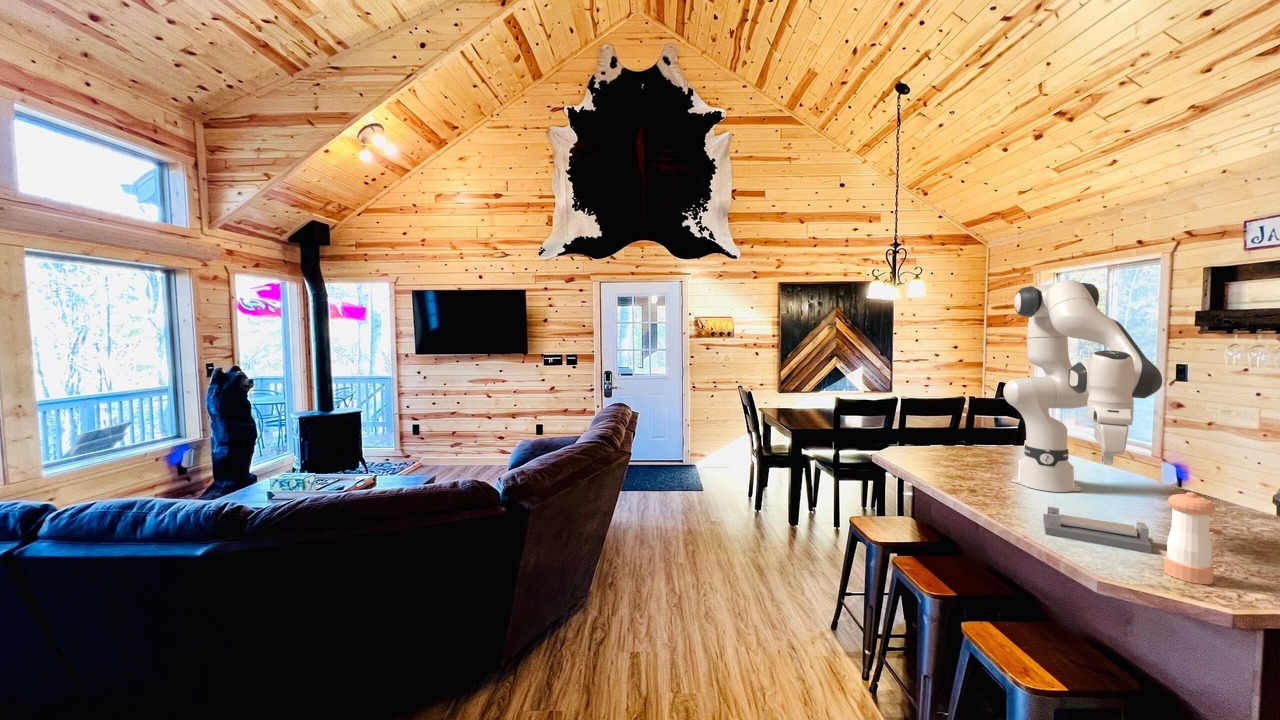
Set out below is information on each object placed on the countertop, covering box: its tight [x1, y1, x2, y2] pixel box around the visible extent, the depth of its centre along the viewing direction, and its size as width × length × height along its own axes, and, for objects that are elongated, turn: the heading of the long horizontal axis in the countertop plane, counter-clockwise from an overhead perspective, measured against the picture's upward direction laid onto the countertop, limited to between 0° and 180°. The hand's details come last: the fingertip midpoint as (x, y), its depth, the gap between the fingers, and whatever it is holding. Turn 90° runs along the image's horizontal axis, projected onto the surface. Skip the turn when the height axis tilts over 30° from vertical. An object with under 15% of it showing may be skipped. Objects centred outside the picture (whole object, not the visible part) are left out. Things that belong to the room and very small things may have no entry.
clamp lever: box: [1050, 513, 1137, 536], centre depth 130 cm, size 5×17×2 cm, turn 52°
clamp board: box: [1042, 505, 1152, 555], centre depth 129 cm, size 12×20×5 cm, turn 52°
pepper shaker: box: [1163, 491, 1216, 585], centre depth 107 cm, size 7×7×19 cm
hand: (1107, 463), depth 128 cm, fingers closed
